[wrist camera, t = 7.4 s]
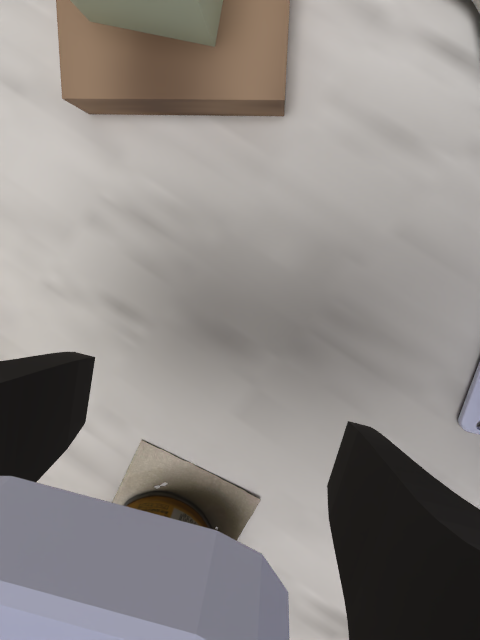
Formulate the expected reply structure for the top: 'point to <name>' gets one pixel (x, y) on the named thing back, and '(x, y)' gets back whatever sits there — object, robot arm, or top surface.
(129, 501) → the condiment
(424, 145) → the top surface
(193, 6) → the sage cube
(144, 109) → the walnut block
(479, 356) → the top surface
